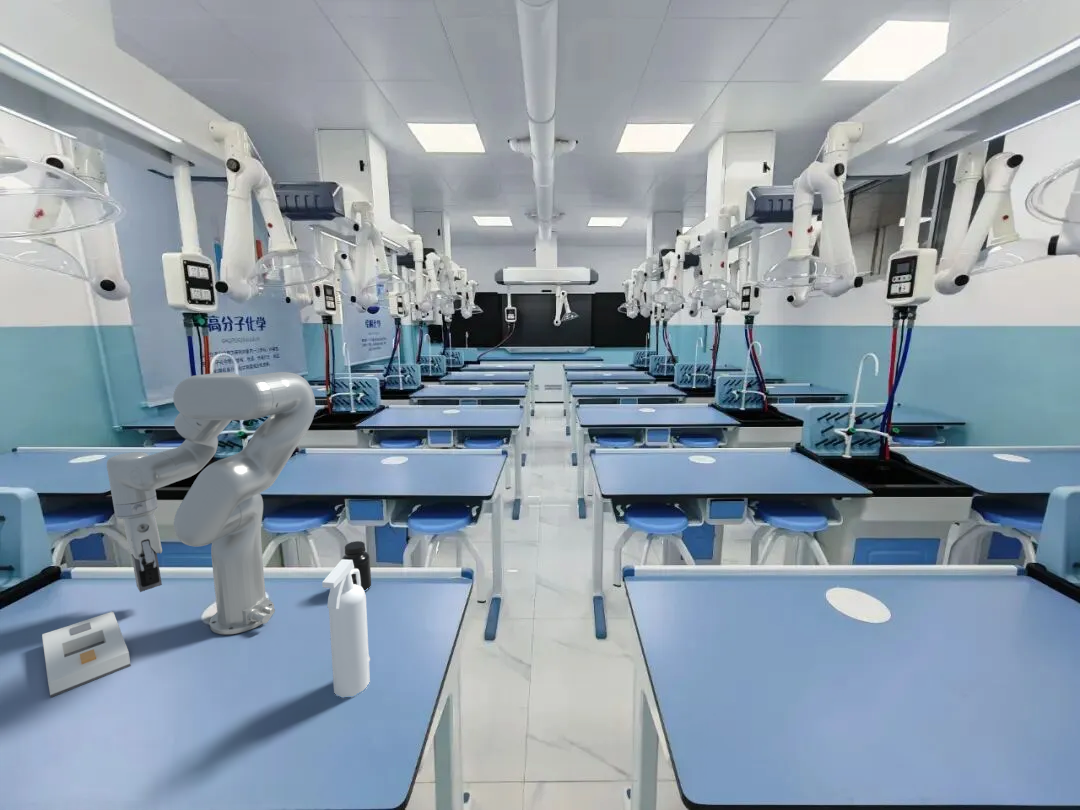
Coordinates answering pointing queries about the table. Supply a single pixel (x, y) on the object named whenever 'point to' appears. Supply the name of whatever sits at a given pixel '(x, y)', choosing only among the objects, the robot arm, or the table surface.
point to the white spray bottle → (348, 630)
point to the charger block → (137, 575)
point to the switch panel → (84, 653)
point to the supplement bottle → (359, 562)
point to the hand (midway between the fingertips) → (148, 580)
